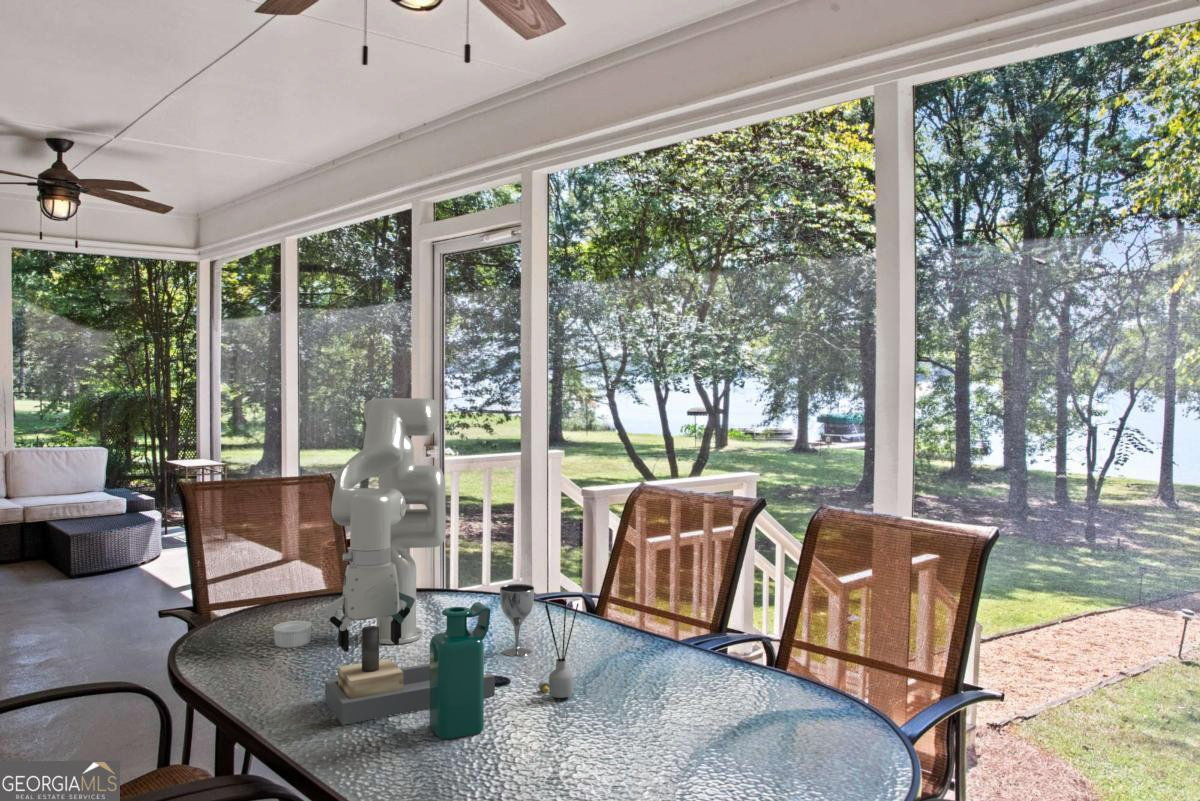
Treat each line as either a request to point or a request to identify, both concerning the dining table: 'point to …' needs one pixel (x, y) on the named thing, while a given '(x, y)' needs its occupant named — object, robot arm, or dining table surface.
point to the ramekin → (292, 634)
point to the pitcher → (458, 674)
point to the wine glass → (517, 611)
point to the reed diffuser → (559, 668)
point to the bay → (389, 697)
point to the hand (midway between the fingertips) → (370, 646)
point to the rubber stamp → (370, 670)
